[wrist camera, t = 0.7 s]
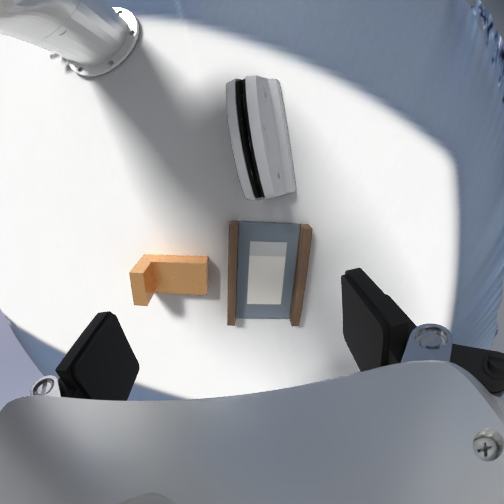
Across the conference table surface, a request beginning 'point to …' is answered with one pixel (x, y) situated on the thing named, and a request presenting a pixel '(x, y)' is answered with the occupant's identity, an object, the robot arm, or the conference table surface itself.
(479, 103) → the conference table surface
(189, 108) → the conference table surface
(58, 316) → the conference table surface
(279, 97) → the grey slotted curved block
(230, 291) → the bay walls
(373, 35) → the conference table surface
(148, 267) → the bracket
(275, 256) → the bay mat
